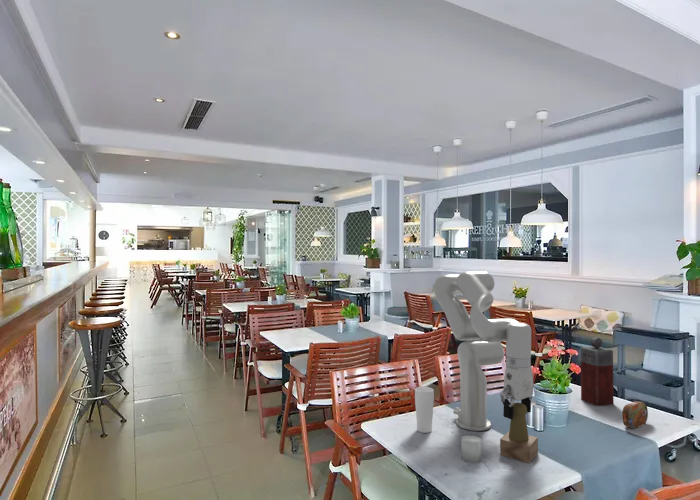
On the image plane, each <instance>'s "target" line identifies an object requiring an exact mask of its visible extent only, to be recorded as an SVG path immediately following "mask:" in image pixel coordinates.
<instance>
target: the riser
mask: <svg viewBox="0 0 700 500" xmlns="http://www.w3.org/2000/svg"><path fill="white" fill-rule="evenodd" d="M528 438H529V440H528V441H527V442H516V441H513V440H511V439H509V430H508V431H507V432H506V433H505V434H504V435H502V437H501V438H499V452H500V453H499V455H500V456H503V457H505V458H510V459H513V460H517V461H521V462H524V463H527V464H530V463H531V462H533V460H534V458H536V456H537V455H538V453H539V437H537V436H535V435H534V436H533V435H530V434H528Z"/></svg>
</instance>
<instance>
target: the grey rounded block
mask: <svg viewBox="0 0 700 500" xmlns="http://www.w3.org/2000/svg"><path fill="white" fill-rule="evenodd" d="M460 440H461V441H460V442H461V450H460V451H461V460H463V461H464V462H466V463H469V464H478V463H479V464H480V462H482V439H481V438H480V437H478V436H475V435H463V436H461V439H460Z"/></svg>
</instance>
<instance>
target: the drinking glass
mask: <svg viewBox="0 0 700 500" xmlns="http://www.w3.org/2000/svg"><path fill="white" fill-rule="evenodd" d="M434 395H435V393H434V389H433V388H432V387H428V386H418V387H415V389H414V403H415V404H414V405H415V406H414V407H415V418H416V429H417V432H419V433H423V434H429V433H431V432H432V431H433V416H434V403H435V401H434V400H435V399H434V398H435V396H434Z"/></svg>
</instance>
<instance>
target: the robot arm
mask: <svg viewBox="0 0 700 500" xmlns="http://www.w3.org/2000/svg"><path fill="white" fill-rule="evenodd" d="M494 288H495V279H494V277H493V275H492V274H491V273H489V272H488V271H484V270H481V271H480V270H479V271H475V270H474V271H473V270H472V271H463V272H461V273H459V274H456V273H455V274H444V275H441V276H439V277H437V278H436V279H435V281H434V285H433V291H434V297H435V299H436V301H437V303H438V304H439V306H440V308H441V309H442V311H443V312H444V314H445V317H446V320H447V322H448V325H449V327H450V329H451V332H452V334H453V336H454V338H455V339H456V340H458V341H463V342H461V343H460V344H459V345H458V347H457V357H458V364H459V379H460V380H459V383H460V384H459V386H460V389H459V390H460V392H459V393H460V396H459V397H460V398H459V399H460V406H459V407H458V406H455V408H454V410H453V414H454V415H457V418H456V420H455V421H456V422H455V423H456V425H457V426H458V427H459V428H461V429H465V430H468V431H475V432H484V431H488V430H490V429H491V427H492V423H491V421H490V420H488V419H487V418H488V417H487V416H488V414H487V411H488V410H487V409H488V408H487V407H488V406H487V405H488V404H487V401H488V400H487V385H488V384H487V377H486V376H487V375H486V374H485V372H484V371H483V370H482V367H483V366H492V365H498V364H500V363H502V362H503V361H504V358H505V369H504V378H503V390H501V392H500V393H499V396H500V399H501V401H500V402H502V405H503V414H502V415H503V417H504V418H506V419H509V420H510V421H511V420H512V419H513V411H514V407H513V406H512V405H513V403H515V401H517V402H518V401H520V403H522V404H524V405H525V406H526V407H527V413H528V414H529V413H531V412H532V399H533V397H532V396H533V394H534V388H535V384H534V378H533V377H534V375H533V370H532V327H531V325H529V324H528V323H524V322H519V321H518V320H516V319H515V318H491V319H489V318H488V317H486V316H485V314H484V312H485V311H487V310H488V309H490V307H491V306H492V305H493V303H494V296H493V294H492V293H491V292H492V291H493V290H494ZM456 296H463V297H464V298H465V299H466V301H467V302H468V304H469V306H470V307H471V308H470V310H469V311H470V312H468V311H467V310H468V309H467V308H466V306H465V304H464V303H463V302H462V301H461V300H460V299H458V298H457V297H456ZM502 342H505V351H504V347H503V344H502Z"/></svg>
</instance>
